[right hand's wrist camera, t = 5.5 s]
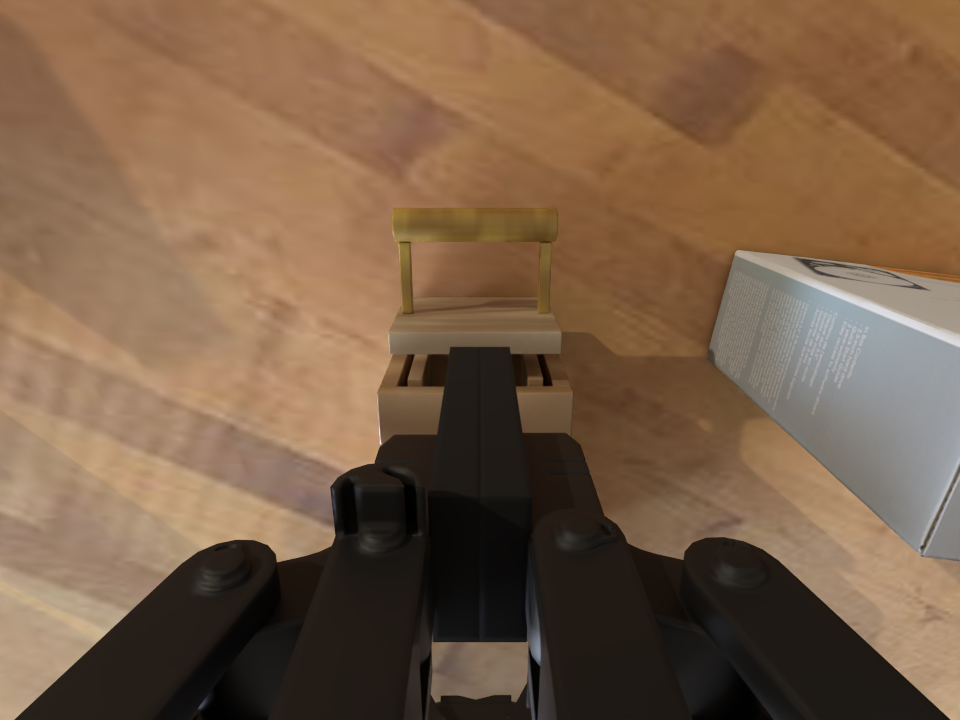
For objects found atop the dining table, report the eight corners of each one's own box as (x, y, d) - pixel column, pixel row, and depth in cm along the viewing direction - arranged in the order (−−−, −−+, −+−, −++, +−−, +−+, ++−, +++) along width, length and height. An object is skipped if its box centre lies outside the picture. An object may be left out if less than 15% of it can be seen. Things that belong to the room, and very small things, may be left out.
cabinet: (399, 337, 37) (376, 393, 28) (551, 336, 37) (574, 393, 28) (410, 543, 43) (393, 641, 34) (542, 542, 43) (558, 641, 34)
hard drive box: (972, 273, 35) (1523, 411, 17) (925, 385, 38) (1356, 611, 19) (730, 245, 35) (1024, 356, 16) (700, 361, 37) (921, 572, 19)
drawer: (400, 202, 33) (380, 216, 26) (549, 202, 33) (568, 215, 26) (414, 504, 40) (402, 575, 34) (537, 503, 40) (549, 575, 34)
